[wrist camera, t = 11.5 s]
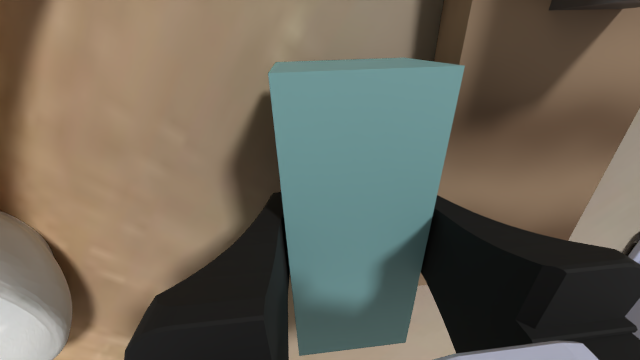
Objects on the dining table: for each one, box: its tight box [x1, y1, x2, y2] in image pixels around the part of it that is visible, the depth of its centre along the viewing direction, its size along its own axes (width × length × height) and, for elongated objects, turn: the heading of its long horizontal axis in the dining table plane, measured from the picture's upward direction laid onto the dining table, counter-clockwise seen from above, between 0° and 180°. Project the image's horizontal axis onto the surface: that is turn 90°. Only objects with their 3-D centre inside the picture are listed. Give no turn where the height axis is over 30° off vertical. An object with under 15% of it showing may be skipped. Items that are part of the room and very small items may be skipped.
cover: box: [268, 58, 465, 356], centre depth 11 cm, size 12×5×4 cm, turn 1°
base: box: [418, 0, 640, 286], centre depth 11 cm, size 18×9×6 cm, turn 2°
